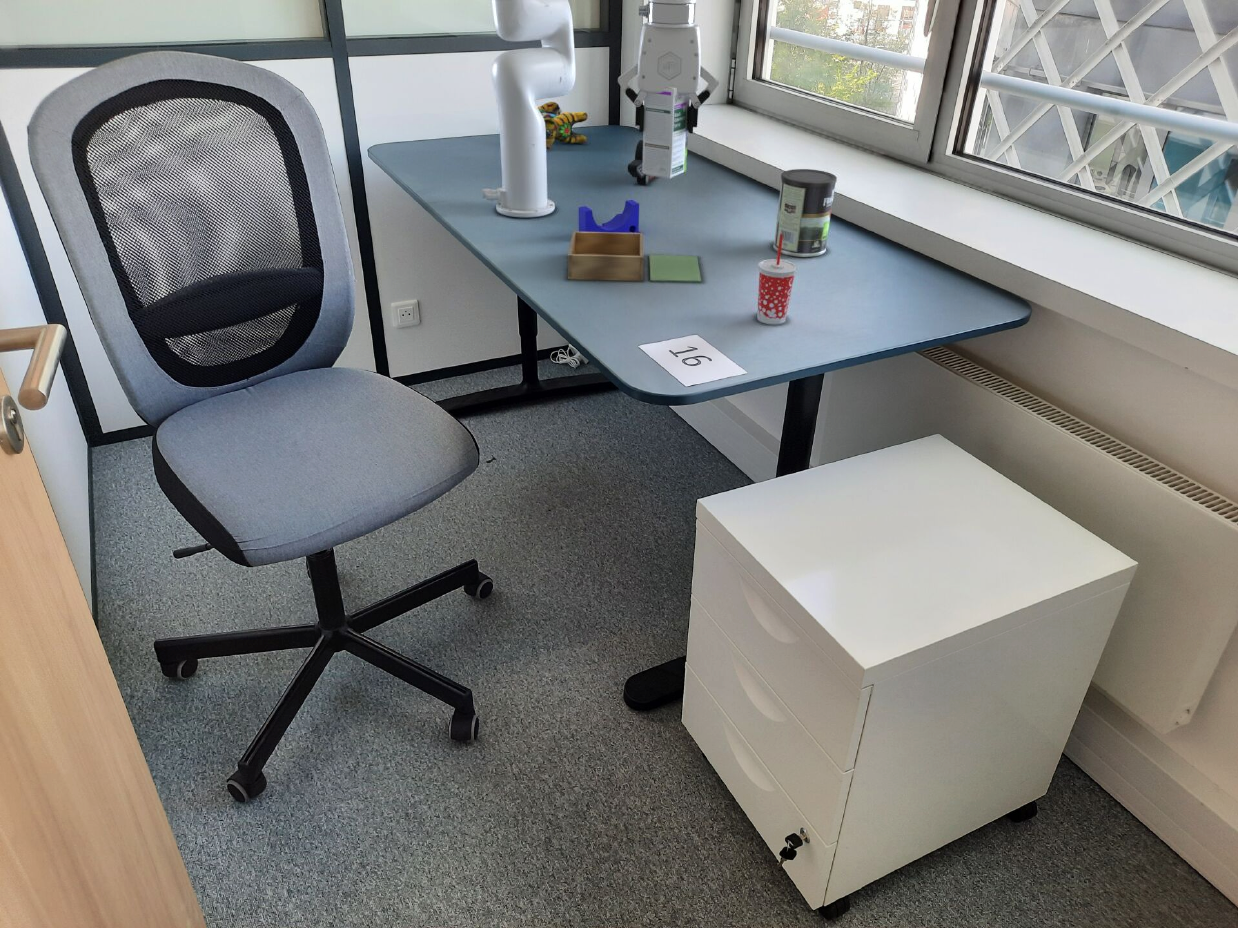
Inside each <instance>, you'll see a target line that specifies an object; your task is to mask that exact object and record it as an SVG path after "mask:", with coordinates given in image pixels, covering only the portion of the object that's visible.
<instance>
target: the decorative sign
mask: <svg viewBox="0 0 1238 928" xmlns="http://www.w3.org/2000/svg"><path fill="white" fill-rule="evenodd" d="M642 169H643V139H639V140H638V142H637V144H636V147H635V152H634V159H633V160H632V161H631V162H629V163H628V164H627V173H629V175H631V177H632V178H636V184H637V185H641V186H642V185H643V186H648V185H649V184H650V183H651V182H652V181H654V179H656V178H657V177H656V176H651V175H647V174H644V173H643V172H642Z"/></svg>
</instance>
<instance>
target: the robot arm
mask: <svg viewBox="0 0 1238 928" xmlns="http://www.w3.org/2000/svg"><path fill="white" fill-rule="evenodd" d="M490 3H491V11H492V19H493V24H494V28H495V31H496V34H497V35H498V37H499V38H500V39H501V40H504V41H506V42H529V41H530V42H531V41H540V42H541V47H528V48H517V49H516V48H515V49H510V50H507V51H504V52H502V53H500V54H499V55H497V56H496V57H495V59H494V60H493V62H492V64H491V69H490V70H491V71H490V74H491V75H490V76H491V82H492V86H493V91H494V94H495V99H496V106H497V115H498V128H499V142H500V144H499V145H500V162H501V163H500V165H501V183H502V185H501V187H497V188H496V189H491V188H482V193H481V194H482V199H486V201H497V203H496V204H495V208H496V211H497V212H498V213H499V214H501V215H504V216H507V217H513V218H525V219H526V218H538V217H543V216H547V215H550V214H551V213H553V212H554V211H555V208H556V204H555V202H554V201H553V200H551V199H549V198H548V170H547V169H548V167H547V166H548V165H547V150H546V127H545V121H544V118H543V116H542V114H541V113H540V111H539V109H538V108H537V107H538V106H537V104H536V101H539V100H544V99H554V98H559V97H563V96H566V95H568V94H569V93H570V92H571V91H572V90H573V88H574V86H575V83H576V77H577V75H576V74H577V73H576V71H577V66H576V52H575V51H576V50H575V37H574V21H573V14H572V8H571V5H570V2H569V0H490ZM696 6H697V0H647V3H646V4H643V5H639V6H638V16H640V17H641V16H643V18H644V17H645V19H647V22H644V23H643V24H642V27H641V31H640V38H639V44H638V58H637V63H636V64H635V65H633V66H631V68H629V69H627V70H626V71H625V72H624V73H622V74H621V75H620V76H618V78H617V83H618V84H619V86H620V87H621V89H622V91H623V92H624V94H625V95H626V97H627V98H628V99H629V100H630V101H631V103H632V104H634V106H635V117H634V118H635V119H634V122H635V123H634V126H635V127H638V128H639V129H638V132H639V133H643V129H644V99H645V98H646V96H647V94H648V93H662V92H664V89H665V88H666V87H674V88H677V93H678V94H688V96H689V98H690V104H689V123H688V134H694V128H698V121H699V120H698V119H699V109H700V107H701V106H702V105H703V104H704V103H705V102H706V101H707V100H708V99H709V98H710V97H711V95H712V94H713V92H714V91H715V90H716V89H717V87H718V86H719V80H718V79H717V78H716V77H715V76H714V75H713V74H711V73H710V72H709V71H708V70H706V68H705V67H703V66H702V64H701V60H702V59H701V58H702V57H701V55H702V52H701V51H702V50H701V49H702V46H701V45H702V43H701V31H700V30H701V29H700V26H699V25H698V24H696V23H695V22H696V8H697V7H696ZM634 77H636V79H637V80H636V82H637V87H638V88H637V89H638V92H636V91H635V90H634V89H633V87H631V85H630V83H629V81H631V80H632V79H633V78H634ZM701 79H703V80H704V81H705V82H706V83H707V84H706V86H705V88H704V89H703V90H702V91H701V92H700V93H698V94H697V92H698V91H699V88H700V82H701Z"/></svg>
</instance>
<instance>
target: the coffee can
mask: <svg viewBox="0 0 1238 928" xmlns="http://www.w3.org/2000/svg"><path fill="white" fill-rule="evenodd" d="M780 179H781V181H780V190H779V198H778V206H777V207H778V208H777V215H776V223H775V224H776V225H775V231H774V232H775V234H774V240H773V249H774V250H775V251H776V252H778V247H779V239H780V234H783V239H782V247H781V255H782V254H783V255H786V256H791V257H799V258H813V257H814V258H815V257H818V256H822V255H823V254H825V252H827V242H828V236H829V235H828V234H829V228H830V221H831V215H832V209H833V201H834V194H835V189H836V183H837V181H838V177H837V176H836V175H835V174H833V173H831V172H829V171H824V170H819V169H811V168H810V169H809V168H796V169H789V170H785V171H783V172H781V174H780Z"/></svg>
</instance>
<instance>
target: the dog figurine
mask: <svg viewBox="0 0 1238 928" xmlns="http://www.w3.org/2000/svg"><path fill="white" fill-rule="evenodd" d="M537 108H538V109H539V111H540V113H541V114H542V116H543V118H544V121H545V127H546V151H547V150H550V149H551V148H552V146H553V144H554V142H555V140H556V141H558V142H560V143H563V144H569V145H575V144H576V145H577V144H578V145H581V144H585V143H586V142H587V137H586V136H585V135H583V134H582V133H578V132H575V131H574V129H573V127H574V125H575V124H579V123H583V122H586V121H587V120H588V113H587V112H586V111H575V112H569V111H568V112H563V110H562V109H561V107H560V105H559V103H557V102H555V101H548V102H546V103H544V104H541V105H540V106H537Z"/></svg>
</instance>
